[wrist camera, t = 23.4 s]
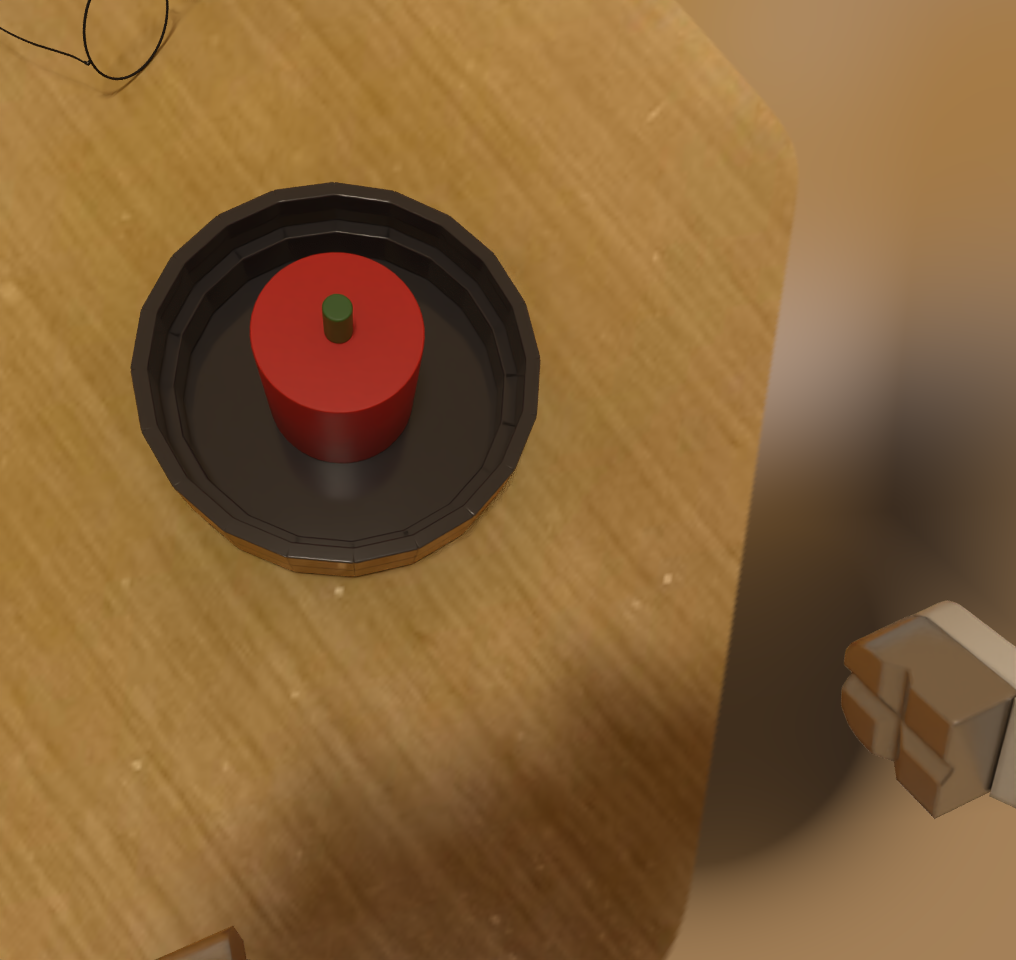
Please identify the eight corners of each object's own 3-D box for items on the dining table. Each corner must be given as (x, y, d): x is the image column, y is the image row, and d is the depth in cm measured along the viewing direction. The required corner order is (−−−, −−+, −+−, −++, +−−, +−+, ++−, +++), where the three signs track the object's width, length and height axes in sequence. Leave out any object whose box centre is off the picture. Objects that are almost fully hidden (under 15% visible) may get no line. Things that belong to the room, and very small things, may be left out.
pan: (587, 392, 40) (614, 356, 36) (358, 654, 36) (358, 649, 32) (333, 174, 41) (330, 113, 36) (77, 409, 37) (40, 371, 32)
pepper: (427, 448, 38) (447, 375, 29) (284, 476, 37) (261, 410, 28) (396, 317, 39) (406, 211, 30) (256, 341, 38) (226, 237, 29)
